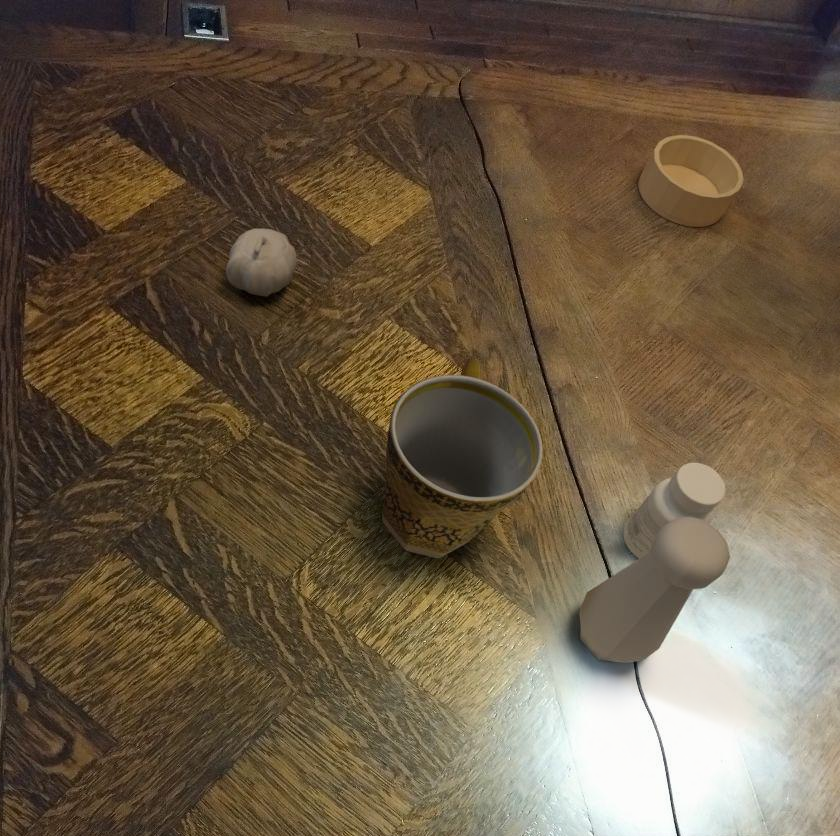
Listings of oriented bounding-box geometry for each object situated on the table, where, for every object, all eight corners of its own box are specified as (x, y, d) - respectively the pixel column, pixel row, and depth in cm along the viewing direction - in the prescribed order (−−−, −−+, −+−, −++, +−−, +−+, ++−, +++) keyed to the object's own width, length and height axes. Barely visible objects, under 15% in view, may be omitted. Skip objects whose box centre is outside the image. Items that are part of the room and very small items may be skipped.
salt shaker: (552, 612, 69) (634, 512, 57) (618, 588, 70) (710, 488, 59) (595, 686, 66) (690, 597, 55) (663, 660, 68) (767, 568, 57)
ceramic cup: (488, 593, 68) (539, 517, 60) (348, 560, 68) (380, 479, 60) (501, 447, 75) (549, 361, 67) (374, 417, 75) (406, 326, 67)
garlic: (252, 319, 78) (260, 271, 74) (209, 278, 80) (213, 228, 75) (307, 288, 81) (318, 240, 76) (264, 249, 82) (272, 199, 78)
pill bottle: (655, 577, 71) (708, 521, 65) (610, 535, 73) (658, 476, 66) (690, 546, 73) (745, 489, 67) (645, 506, 75) (695, 445, 68)
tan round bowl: (703, 165, 98) (721, 134, 95) (738, 226, 94) (758, 197, 91) (625, 165, 96) (641, 134, 93) (657, 228, 92) (674, 198, 89)
